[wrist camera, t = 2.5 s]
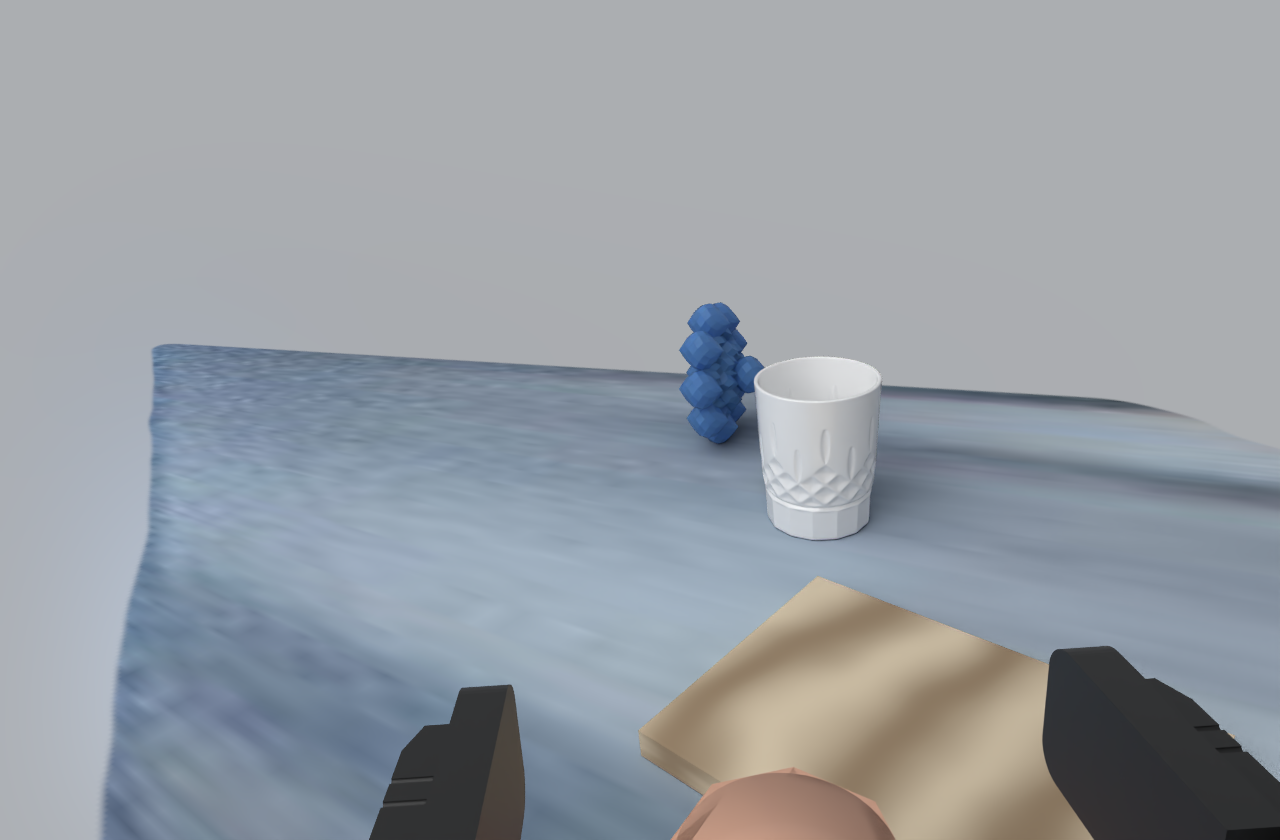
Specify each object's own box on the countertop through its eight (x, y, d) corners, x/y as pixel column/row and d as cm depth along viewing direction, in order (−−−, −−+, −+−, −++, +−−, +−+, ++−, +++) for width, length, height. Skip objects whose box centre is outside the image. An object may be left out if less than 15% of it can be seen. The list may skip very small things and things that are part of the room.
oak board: (1228, 762, 36) (1234, 735, 35) (1115, 1061, 26) (1122, 1030, 25) (818, 597, 49) (817, 576, 48) (641, 755, 39) (638, 730, 38)
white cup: (892, 498, 58) (896, 361, 54) (859, 556, 52) (861, 408, 48) (784, 480, 62) (780, 351, 58) (741, 533, 56) (734, 393, 52)
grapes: (756, 478, 63) (749, 323, 58) (670, 471, 65) (656, 322, 60) (785, 415, 73) (781, 279, 68) (709, 411, 75) (700, 279, 70)
